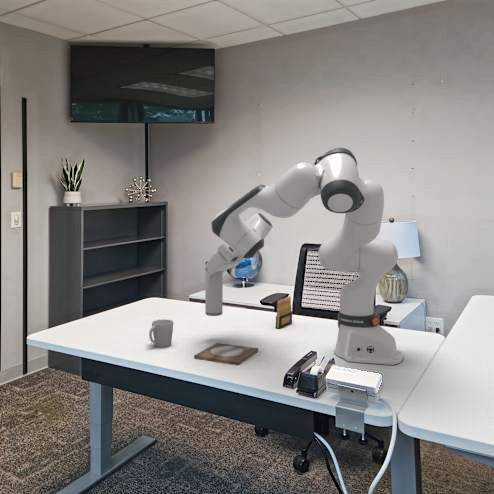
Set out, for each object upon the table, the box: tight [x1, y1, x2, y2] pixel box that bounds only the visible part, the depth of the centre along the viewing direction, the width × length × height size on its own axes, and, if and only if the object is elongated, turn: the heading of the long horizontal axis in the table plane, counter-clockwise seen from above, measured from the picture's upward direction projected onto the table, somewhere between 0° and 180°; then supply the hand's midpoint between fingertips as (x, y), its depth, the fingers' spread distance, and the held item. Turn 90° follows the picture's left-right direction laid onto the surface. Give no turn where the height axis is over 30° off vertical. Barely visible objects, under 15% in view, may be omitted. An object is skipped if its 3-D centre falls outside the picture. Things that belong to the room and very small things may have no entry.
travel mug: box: [204, 260, 224, 317], centre depth 180 cm, size 6×7×20 cm
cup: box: [148, 319, 174, 348], centre depth 175 cm, size 8×10×8 cm
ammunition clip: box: [275, 295, 293, 330], centre depth 203 cm, size 11×2×12 cm, turn 146°
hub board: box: [193, 342, 259, 366], centre depth 165 cm, size 16×16×1 cm
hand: (212, 275), depth 180 cm, fingers closed on travel mug, 6 cm apart
